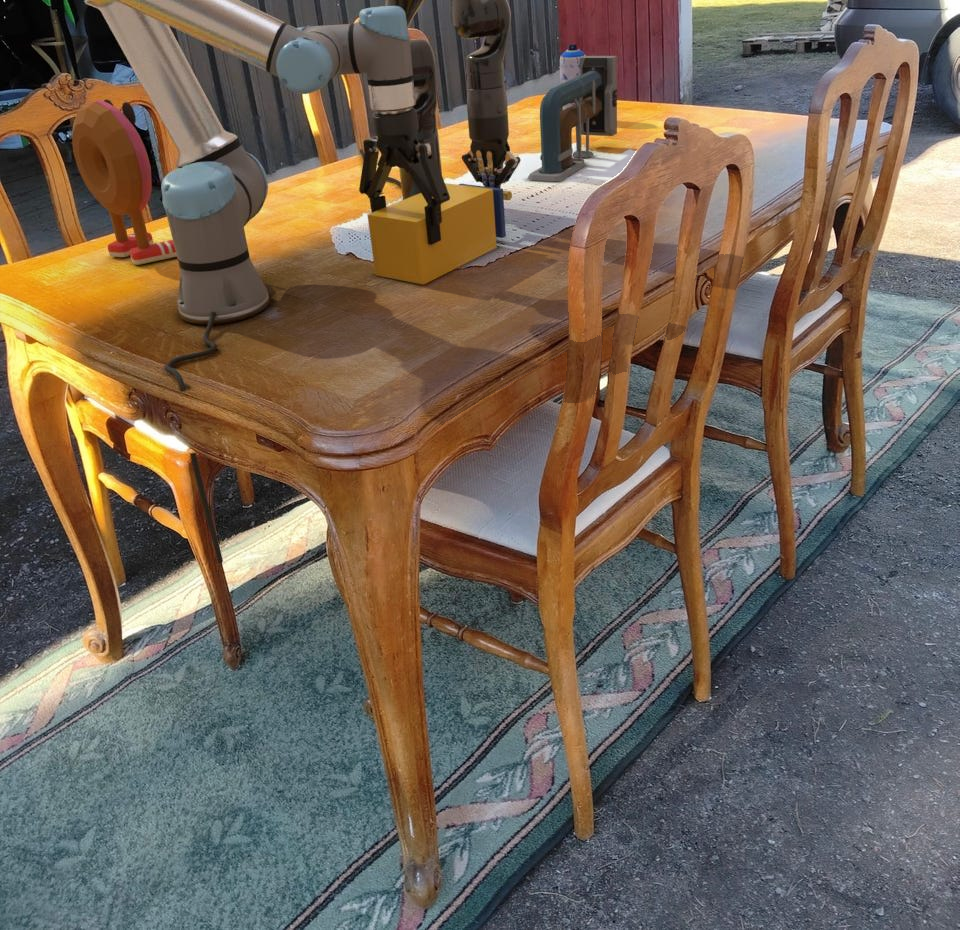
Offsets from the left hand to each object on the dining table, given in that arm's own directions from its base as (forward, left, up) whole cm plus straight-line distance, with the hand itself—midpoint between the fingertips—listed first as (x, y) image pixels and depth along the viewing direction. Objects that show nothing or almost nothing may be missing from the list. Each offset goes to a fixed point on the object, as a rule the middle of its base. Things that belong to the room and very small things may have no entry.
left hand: (408, 238), depth 171 cm
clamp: (+79, -13, -7) cm, 80 cm away
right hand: (+24, -9, -1) cm, 26 cm away
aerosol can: (+128, -3, -7) cm, 128 cm away
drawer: (+14, -5, -6) cm, 16 cm away
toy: (+5, +60, -7) cm, 61 cm away
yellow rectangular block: (+7, -2, -7) cm, 10 cm away
